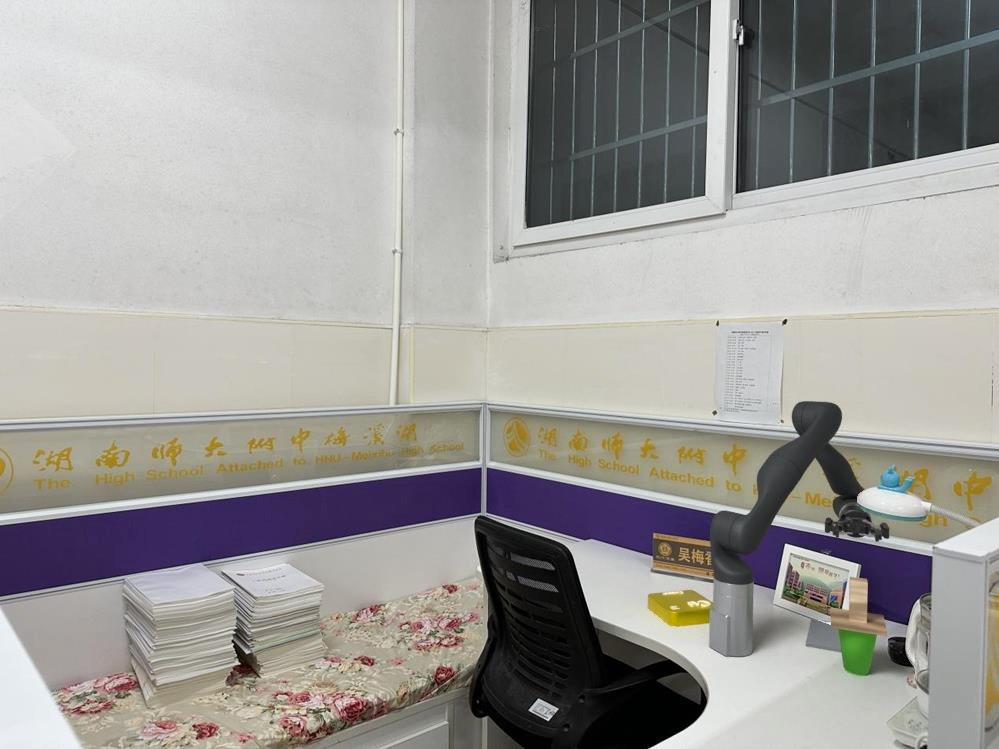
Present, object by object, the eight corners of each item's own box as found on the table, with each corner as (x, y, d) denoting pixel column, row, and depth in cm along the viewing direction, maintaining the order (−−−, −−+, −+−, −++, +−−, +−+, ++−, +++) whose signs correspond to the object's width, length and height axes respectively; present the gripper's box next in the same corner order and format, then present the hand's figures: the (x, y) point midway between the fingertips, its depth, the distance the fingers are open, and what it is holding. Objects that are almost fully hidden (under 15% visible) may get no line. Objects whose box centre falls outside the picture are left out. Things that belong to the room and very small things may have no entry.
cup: (884, 681, 155) (886, 632, 154) (840, 677, 156) (841, 628, 156) (871, 663, 163) (872, 617, 163) (829, 660, 165) (830, 613, 165)
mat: (865, 656, 167) (865, 654, 167) (805, 645, 173) (805, 643, 173) (865, 630, 183) (865, 627, 183) (811, 620, 189) (811, 618, 189)
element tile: (692, 603, 203) (692, 587, 202) (721, 623, 188) (722, 605, 188) (644, 608, 199) (645, 591, 199) (671, 629, 184) (671, 611, 184)
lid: (887, 636, 152) (888, 591, 152) (830, 627, 157) (831, 584, 156) (883, 618, 162) (884, 576, 162) (830, 610, 167) (831, 569, 166)
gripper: (825, 502, 187) (824, 517, 172) (886, 507, 181) (891, 523, 166) (824, 530, 187) (824, 547, 172) (885, 536, 181) (890, 554, 166)
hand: (857, 535), depth 169 cm, fingers open, 8 cm apart
